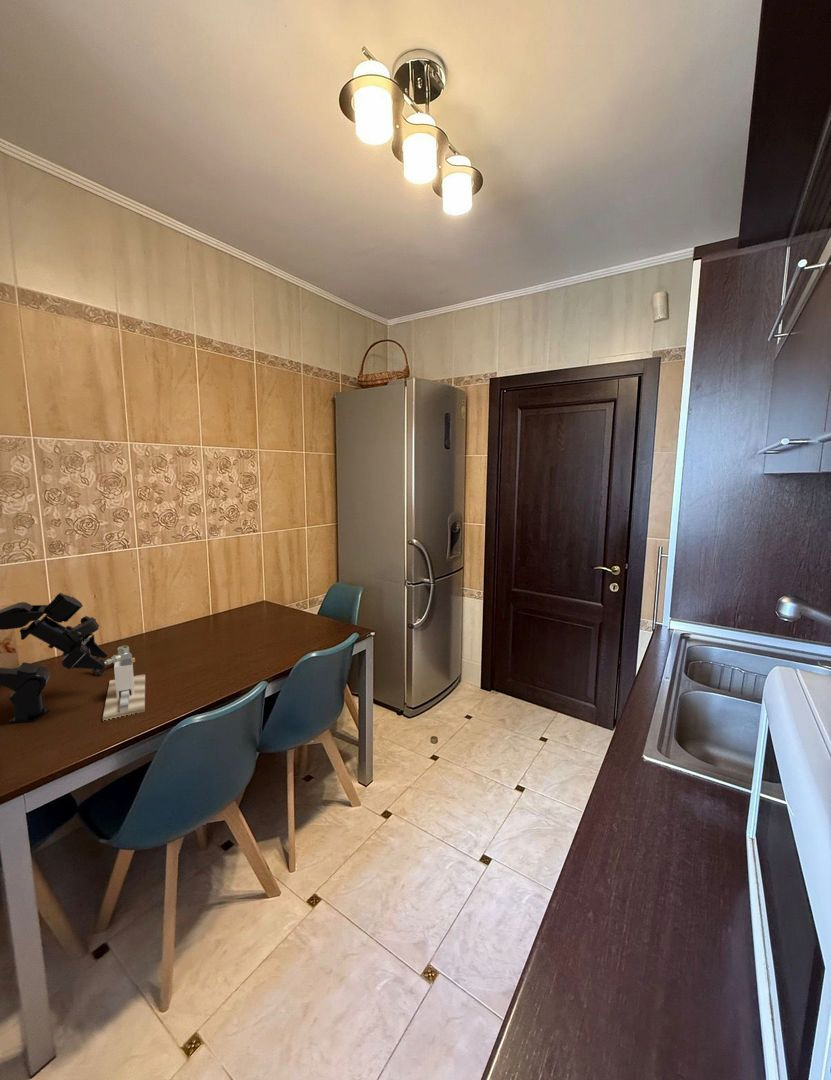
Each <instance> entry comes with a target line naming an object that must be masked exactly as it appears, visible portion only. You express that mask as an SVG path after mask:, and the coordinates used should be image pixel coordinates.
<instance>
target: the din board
mask: <svg viewBox="0 0 831 1080" xmlns="http://www.w3.org/2000/svg"><path fill="white" fill-rule="evenodd" d="M134 687H135V691H134V695H132V692H131V689H128V690H123V691H120V697H119V698H117V695H116V684H115V679H110V680H109V684H108V689H107V693H106V699H105V704H104V709H103V715H102V721H103V722H105V721H104V720H106V721H109V720H108V719H110V720H113V719H112V718H115V719H118V718H117V717H119V718H122V717H121V716H124V717H127V716H126V715H128V716H131V714H132V715H136V714H135V713H137V714H142V713H145V711H146V673H144V674H138V675H137V674H136V675H134Z"/></svg>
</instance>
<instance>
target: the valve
mask: <svg viewBox="0 0 831 1080" xmlns="http://www.w3.org/2000/svg"><path fill="white" fill-rule="evenodd" d="M130 653H131V652H130V647H129V645H120V646H119V647H117V654H113V655H112V656H111V657H110V658H108V659H106V660H104V661H103V659H99V658H100V657H96V656H94V658H95V659H97V660H98V661H99V662H101V663H102V664H103V665H104V666H105V667H106V666H108V665H111V664H113V665H115V662H119V661H122V659H123V655H124V654H130ZM90 671H91V673H94V674H95V676H96V675H98V676H100V675H103V674H104V673H105V672H104V670H103V669H102V670H100V669H90Z"/></svg>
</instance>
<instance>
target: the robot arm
mask: <svg viewBox="0 0 831 1080" xmlns="http://www.w3.org/2000/svg"><path fill="white" fill-rule="evenodd" d="M82 607H84V605H83V603H81V601H80V600H78V599H77V598H76V597H73V596H70V595H67V594H64V593H62V592H59V593H57V595H56V596H55V597H54V598H53V599H52V600H51V601H50V602H49V603H48V604H33V605H32V604H30V603H29V602H28V603H27V602H25V601H22V602H17V603H14V604H12V605H9V606H7V607H4V608H1V609H0V631H2V630H3V631H4V630H5V631H6V630H13V629H19V628H20V630H19V632H20V640H23V641H24V640H25V639H27V638H28V636H29V635H31V636H33V637H34V638H36V639H38V640H40V641H42V642H44V643H46V644H48V646H47V647H48V648H50V649H51V650H52V649H53V648H55V649H56V650H59V651H60V652H61V653H62V655H63V659H62V661H61V666H62V667H63V668H65V669H67V670H70V669H89V670H92V669H97V670H99V669H100V670H102V671H103V670H104V669H105V668H106V665H105V666H104V665H103V664H102V663H101V662H99V661H98V660H99V659H95V657H99V658H101V659H106V658H107V657H108V653H106V652H105V651H104V650H103V649H102V647H100V646H99V645H98V644H97V642H96V639H95V638H96V637H95V632H97V631H98V630H99V628H100V624H99V623H98V622H97V619H96V618H94V617H93V616H91V617H90V616H88V615H85V616H83V617H81V618H80V623H78V624H77V625H76V626H74V627H72V626H70V625H66V626H64V625H62V624H61V623H63V622H65V623H66V622H68V621H69V620H70V619H71V618H72V617H73V616H74V615H75V614H77V613H78V611H80V609H82ZM44 614H45V615H44ZM42 616H43V617H42ZM41 617H42V618H41ZM30 622H31V623H30ZM29 623H30V624H29ZM28 624H29V625H28ZM27 625H28V626H27ZM25 626H27V627H25ZM50 675H51V673H50V670H49V669H48V668H47V667H46V666H42V664H41V663H29V662H22V663H21V664H20V666H18V667H14V668H8V667H7V668H6V667H0V686H2V687H4V688H6V689H8V690H11V691H12V694H11V695H10V696H9V700H10V702H11V703H12V705H13V712H14V713H13V714H14V717H12V718H10V719H9V720H8V721H9V723H33V722H35V721H37V720H39V718H41V717H42V716H44V715H45V714H46V713H48V712H49V711H50V707H45V702H44V695H43V690H44V689H45V688H46V685H47V684H48V682H49V680H50Z"/></svg>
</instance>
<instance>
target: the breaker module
mask: <svg viewBox="0 0 831 1080" xmlns="http://www.w3.org/2000/svg"><path fill="white" fill-rule="evenodd" d="M135 662H136V657H133V653H131V652H130V654H124V655H123V659H122V661H119V662H115V664H113V665H114V666H113V669H114V671H113V672H114V680H115V684H116V695H117V698H119V697H120V691H123V690H128V689H131V692H132V695H134V691H135V687H134V676H135V675H134V665H133V664H134V663H135Z"/></svg>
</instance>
